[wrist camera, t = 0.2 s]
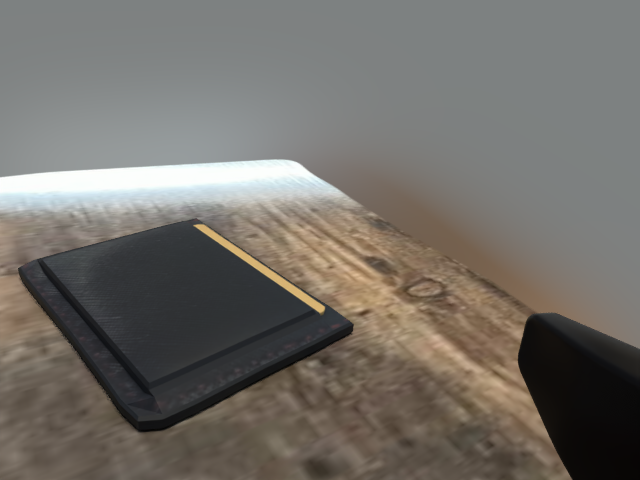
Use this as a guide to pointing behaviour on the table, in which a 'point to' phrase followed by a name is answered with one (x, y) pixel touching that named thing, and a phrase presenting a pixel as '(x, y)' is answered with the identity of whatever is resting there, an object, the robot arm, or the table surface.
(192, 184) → the table surface
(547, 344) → the robot arm
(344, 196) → the table surface
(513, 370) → the table surface
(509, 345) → the table surface
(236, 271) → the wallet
